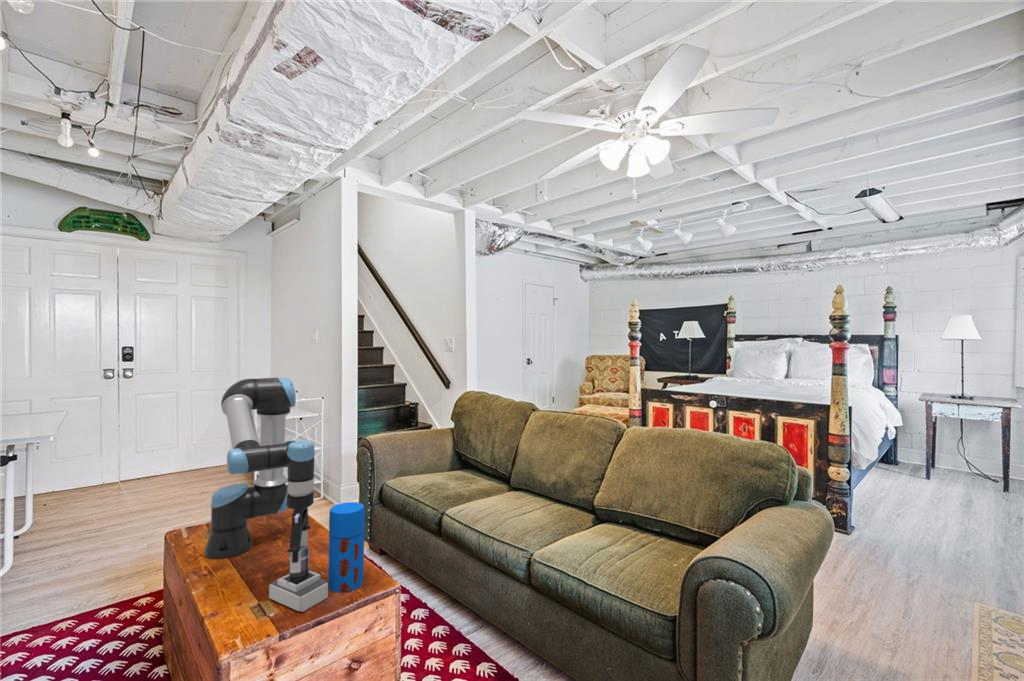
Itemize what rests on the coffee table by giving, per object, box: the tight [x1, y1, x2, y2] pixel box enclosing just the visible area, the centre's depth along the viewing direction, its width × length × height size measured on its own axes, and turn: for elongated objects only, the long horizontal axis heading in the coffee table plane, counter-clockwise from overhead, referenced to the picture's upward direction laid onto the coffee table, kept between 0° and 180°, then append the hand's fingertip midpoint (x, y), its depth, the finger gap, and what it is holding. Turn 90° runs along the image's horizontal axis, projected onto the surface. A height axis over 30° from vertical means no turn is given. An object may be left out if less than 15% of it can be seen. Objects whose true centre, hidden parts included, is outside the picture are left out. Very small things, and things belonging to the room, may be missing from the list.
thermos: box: [327, 501, 366, 594], centre depth 151 cm, size 11×11×25 cm
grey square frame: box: [268, 570, 329, 613], centre depth 142 cm, size 15×10×7 cm, turn 61°
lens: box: [288, 545, 310, 585], centre depth 142 cm, size 6×6×10 cm
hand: (299, 561), depth 143 cm, fingers open, 13 cm apart
